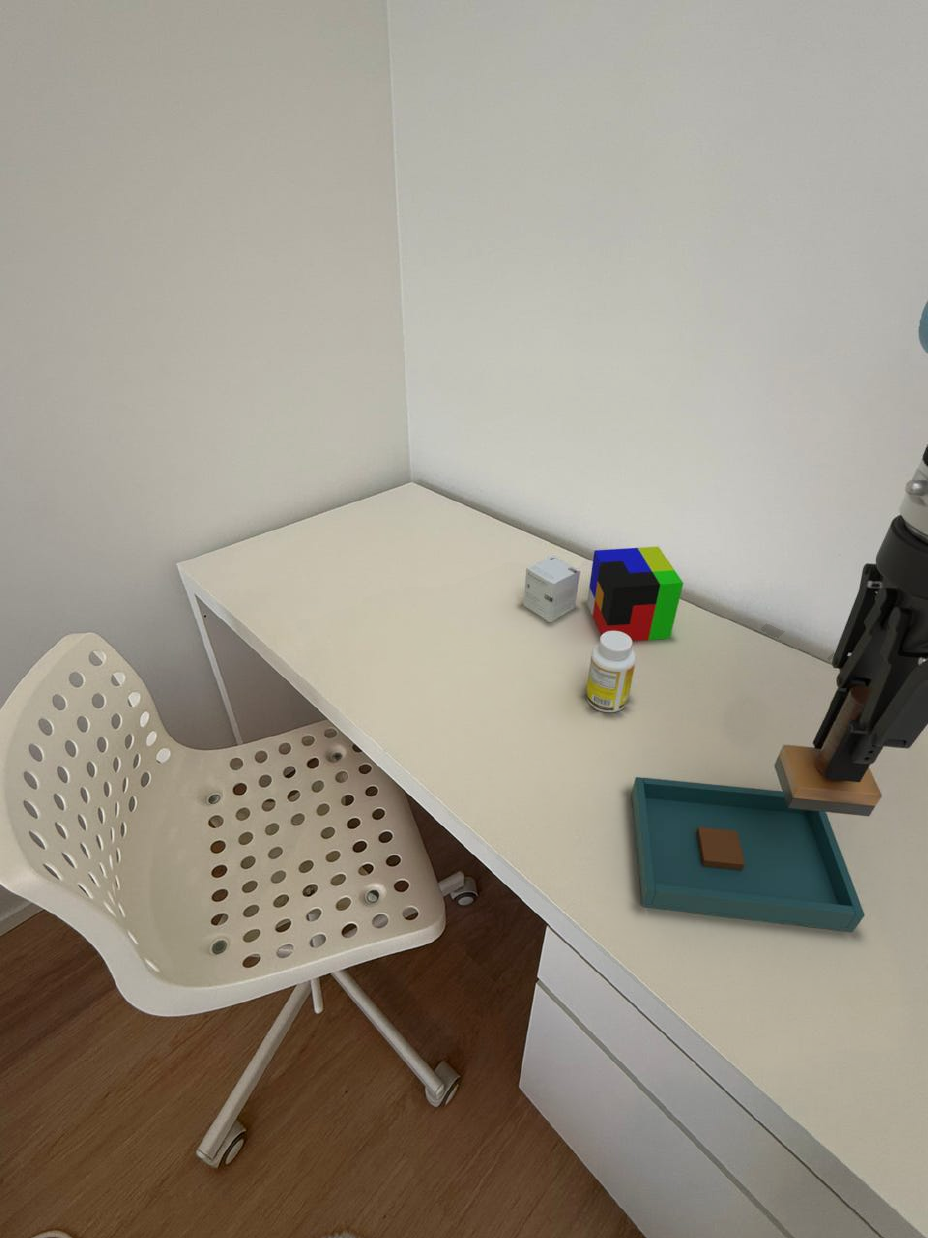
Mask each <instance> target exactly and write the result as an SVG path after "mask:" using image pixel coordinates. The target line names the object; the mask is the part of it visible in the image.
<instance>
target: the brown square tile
mask: <svg viewBox="0 0 928 1238" xmlns="http://www.w3.org/2000/svg"><path fill="white" fill-rule="evenodd" d="M696 837H697V842H698V848H699V853H700V859H701V865H702V867H710V868H719V869H728V870H737V871H742V870H743V868H744V866H745V863H744V859H743V854H742V850H741V846H740V842H739V838H738V833H737V831H734V830H724V829H715V828H706V827H698V829H697V832H696Z"/></svg>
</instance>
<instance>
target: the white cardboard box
mask: <svg viewBox="0 0 928 1238" xmlns="http://www.w3.org/2000/svg"><path fill="white" fill-rule="evenodd" d="M525 568H526V569H525V580H524V590H523V591H524V592H523V603H522V604H523V607H525V608H527V609H528V610H529V611H531V612H533V613H535V614H536V615H537V616H539V617H540V618H541V619H543V620H545V621H546V622H547V623H552V622H553V621H555V620H557V619H559V618H560V617H562V616H564V615H565V614H567V613H569V612H571V611H572V610H574V609H575V608H576V604H577V597H578V596H577V595H578V590H579V583H580V576H581V570H580V569H578V568H576V567H574V566H573V565H571V564H570V563H568V562H567V561H564V560H562V559H560V558H558V557H557V556H554V555H550V556H548V557H546V558H543V559H541V560H540V561H538V562H535V563H533V564H531V565H529V566H527V567H525Z"/></svg>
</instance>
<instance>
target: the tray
mask: <svg viewBox="0 0 928 1238" xmlns="http://www.w3.org/2000/svg"><path fill="white" fill-rule="evenodd" d="M631 802H632V803H631V805H632V813H633V815H632V816H633V823H634V824H633V825H634V833H635V834H634V835H635V845H636V847H635V848H636V854H637V856H636V857H637V867H638V878H639V888H640V898H641V907H642V908H648V909H649V908H650V909H657V910H665V911H673V912H682V913H689V914H691V913H692V914H699V915H706V916H707V915H708V916H716V917H724V918H732V919H740V920H748V921H749V920H750V921H758V922H766V923H775V924H781V925H782V924H783V925H791V926H798V927H807V928H817V929H824V930H832V931H841V932H848V933H850V932H851V933H853V932H854V931H855V930H856V928H858V925H860V923H861V921H862V920H863V919H864V917H865V916H866V915H865V912H864V910H863V907H862V904H861V902H860V899H859V896H858V894H857V891H856V888H855V885H854V882H853V880H852V878H851V875H850V872H849V869H848V866H847V864H846V861H845V859H844V857H843V854H842V851H841V848H840V845H839V842H838V840H837V837H836V835H835V832H834V829H833V827H832V824H831V821H830V819H829V816H828V814H827V813H828V812H821V811H812V810H802V809H793V808H788V807H787V804H786V800H785V797H784V794H783V791H782V790H772V789H762V788H752V787H743V786H740V787H739V786H731V785H723V784H714V783H702V782H692V781H683V780H671V779H661V778H653V777H652V778H651V777H641V776H635V779H634V782H633V786H632V792H631ZM698 827H706V828H715V829H724V830H734V831H737V833H738V838H739V842H740V846H741V850H742V854H743V859H744V863H745V866H744V868H743V870H742V871H737V870H728V869H719V868H710V867H702V865H701V859H700V853H699V848H698V842H697V837H696V832H697V829H698Z"/></svg>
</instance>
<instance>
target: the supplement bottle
mask: <svg viewBox="0 0 928 1238" xmlns="http://www.w3.org/2000/svg"><path fill="white" fill-rule="evenodd" d="M590 654H591V655H590V661H589V669H588V674H587V675H588V676H587V681H586V682H587V683H586V689H585V697H586V700H587V702H588V704H589V705H590V706H591V707H592V708H594V709H595V710H598V711H600V712H604V713H615V712H619V711H621V710H623V709H624V708H625V707H626V706H627V704H628V702H629V697H630V692H631V687H632V682H633V676H634V673H635V668H636V662H637V656H636V655H637V654H636V652H635V650H634V649H633V641H632V639H631V638H630V637H629V636H628V635H627V634H625V633H623V632H620V631H608V632H605V633H604V634H602V636H601V635H600V638H599V642H598V643H597V644H595V646H593V648H592V650H591V653H590Z"/></svg>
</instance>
